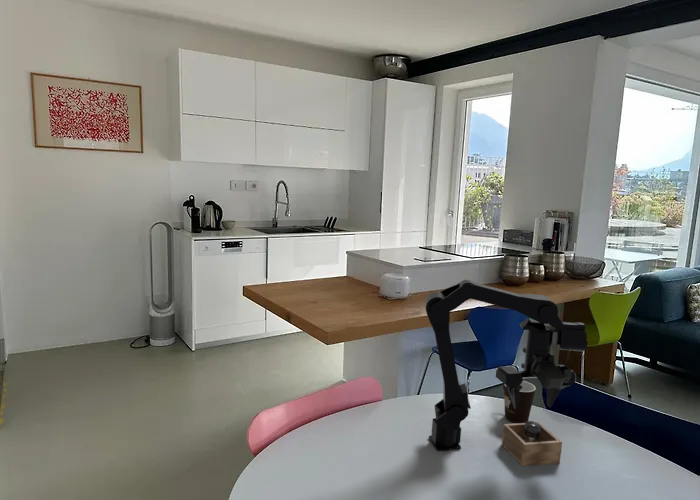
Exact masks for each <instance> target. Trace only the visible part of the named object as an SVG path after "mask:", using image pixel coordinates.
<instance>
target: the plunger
mask: <svg viewBox="0 0 700 500" xmlns="http://www.w3.org/2000/svg"><path fill="white" fill-rule="evenodd" d="M536 422H537V421H532V420H531V421H530V420H528V421H527V422H525V431H524V434H525V435H526V436H528V437H529V439H523V440H524V441H525V442H526V443H530V442H539V441H538V440H537V439H534V438H539V436H540V427H541V426H540V424H541V423H540V424H538V423H536Z"/></svg>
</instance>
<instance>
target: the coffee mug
mask: <svg viewBox="0 0 700 500" xmlns="http://www.w3.org/2000/svg"><path fill="white" fill-rule="evenodd" d="M520 385H521V386H522V389H521V390H520V391H519V403H518V408H517V409H515V408H514V407H513V404H512V401H511V398H510V395H509V392H508V389H507V387H506V385H505V384H504V383H503V382H502V387H503V388H502V389H503V393H504V394H503V395H504V397H503V399H504V401H503V402H504V417H505V419H506V420H507V421H509V422H510V423H512V424H515V423H525V422H527V421H529V419H530V413H531V409H532V406H533V401H534V397H535V392H536V390H537V389H536V388H537V387H536V386H535V385H534V384H533V383H530V382H528V381H526V380H522V383H521V384H520Z"/></svg>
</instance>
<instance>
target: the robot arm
mask: <svg viewBox="0 0 700 500" xmlns="http://www.w3.org/2000/svg"><path fill="white" fill-rule="evenodd" d="M468 300H475V301H478V302H481V303H485V304H490V305H492V306H493V305H494V306H497V307H500V308H504V309H508V310H513V311H514V312H515V311H516V312H517V313H519V314H521V315H523V316H525V317H526V318H525V320H523V321H522V322H520V323H519V326H520V327H521V329H522V330H524V331H527V336H526V347H523V348H522V352H523V353H524V354H525V355H524V356H525V357H524V362H522V363H521V364H520V365H521V366H520V367H521V368H522V369H523V370H517V369H516V368H515V367H513V366H498V367H497V368H496V370H495V378H497V379H498V381H500V382H501V383H502V384H503V383H504V384H505V385H506V387H507V389H508V392H509V395H510V398H511V401H512V404H513V407H514V408H515V409H517V408H518V403H519V391H520V390H521V389H522V386H521V385H520V384H521V383H522V381H524V380H534V379H537V380H538V381H539V383H540V384H541V386H542V387H543V388H544V389H546V406H547V407H548V408H552V406H553V404H554V402H555V400H556V399H557V397H558V396H559V393H560V392H561V391H562V389H565V388H567V387H570V386H571V385H572V384H575V383H576V382H577V381H576V380H577V374H576V372H575V371H574V370H573V369H571V367H570V366H569V365H564V364H555V355H554V354H553V353H552V348H553V347H552V344H553V345H554V346H556V347H557V349H558V350H561V351H574V352H585V351H586V350H587V349H588V344H589V343H588V342H589V341H588V336H587V335H588V334H587V331H586V324H585V323H583V322H580V321H579V322H578V321H577V322H569V321H568V322H566V321H562V319H561V318H560V316H559V307H558V306H557V304H556V303H555V302H554V301H553V300H552V299H550V298H549V297H548V296H546V295H545V294H544V295H543V294H535V293H516V292H512V291H509V290H505V289H500V288H497V287H493V286H489V285H487V284H482V283H477V282H476V281H475V282H474V281H472V280H470V279H463V280H461V281H460V282H459V283H457V284H453V285H451V286H449V287H447V288H445V289H443V290H440V291H433V292H430V293H429V294H428V295H427V296H426V298H425V300H424V307H425V312H426V315H427V318H428V320H429V323H430V325H431V328H432V330H433V332H434V337H435V341H436V346H437V347H436V348H437V352H438V356H439V361H440V362H439V363H440V368H441V374H442V379H443V380H442V381H443V388H442V393H443V395H442V399H441V400H440V401H438V402H437V403H435V404H434V413H435V418H434V417H433V418H432V420H431V421H432V423H431V435H429V436H428V439H429V441H430V442H431V443H432V445H433V447H434V448H435V449H436V451H438V452H440V451H450V450H451V451H452V450H454V451H455V450H461V449H462V446H461V445H460V443H461V439H462V438H461V435H462V427H461V422H462V421H464V420H465V419H466V418H467V417H468V415H469V409H470V410H471V408H472V407H471V403H470V400H469V392H468V389H467V386H466V383H461V384H460V381H459V379H458V372H457V367H456V361H455V355H454V351H453V344H452V341H451V335H450V321H451V316H450V313H451V312H452V311H454V310H455V309H458V307H460V306H461V305H463V303H465V302H466V301H468ZM531 319H532V320H534V321H531ZM547 324H548V325H547Z"/></svg>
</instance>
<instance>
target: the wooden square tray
mask: <svg viewBox="0 0 700 500" xmlns="http://www.w3.org/2000/svg"><path fill="white" fill-rule="evenodd" d="M535 422H536V423H538V424H540V426H541V427H540V436H539V438H534V439H537V440H538V441H539V442H530V443H526V442H525V441H524V440H523V439H529V437H528V436H526V435H525V434H524V431H525V423H504V424H503V428H502V429H503V430H502V439H501V445H502V446H503V447H504V449H506V451H508V452H509V453H510V455H512V457H513V458H514V459H515V460H516V461H517V462H518V463H519V464H520V466H522V467H527V466H529V467H530V466H541V465H543V466H544V465H553V464H554V465H555V464H560V463H561V455H562V448H563V446H562V445H563V441H561V439H559V438H558V437H557V436H556V435H554V434H553V433H552V432H551V431H550V430H549V429H547V428H546V426H544V425H543V424H541V423H540V422H539V421H535Z"/></svg>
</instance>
